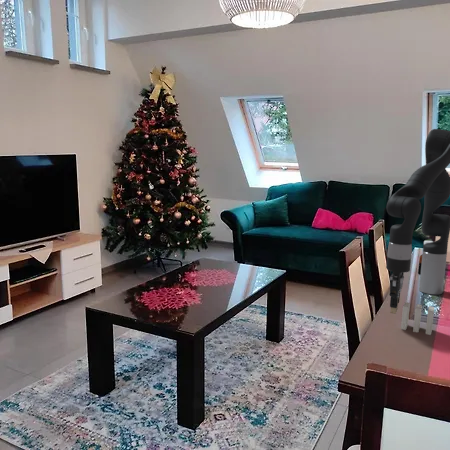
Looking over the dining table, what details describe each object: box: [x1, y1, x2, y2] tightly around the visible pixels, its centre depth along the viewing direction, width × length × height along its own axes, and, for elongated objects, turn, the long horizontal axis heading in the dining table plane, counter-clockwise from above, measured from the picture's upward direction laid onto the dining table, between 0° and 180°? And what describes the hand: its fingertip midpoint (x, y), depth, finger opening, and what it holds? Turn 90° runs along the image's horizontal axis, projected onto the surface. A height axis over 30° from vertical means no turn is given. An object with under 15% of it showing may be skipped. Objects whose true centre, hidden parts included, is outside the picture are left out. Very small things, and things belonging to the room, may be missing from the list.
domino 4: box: [425, 305, 435, 336], centre depth 149 cm, size 5×2×8 cm, turn 152°
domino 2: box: [400, 301, 411, 331], centre depth 152 cm, size 5×2×8 cm, turn 152°
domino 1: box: [390, 287, 399, 314], centre depth 153 cm, size 5×2×8 cm, turn 152°
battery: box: [417, 253, 423, 275], centre depth 220 cm, size 4×7×10 cm, turn 146°
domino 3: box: [412, 303, 423, 333], centre depth 150 cm, size 5×2×8 cm, turn 152°
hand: (394, 304), depth 153 cm, fingers closed on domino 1, 5 cm apart
